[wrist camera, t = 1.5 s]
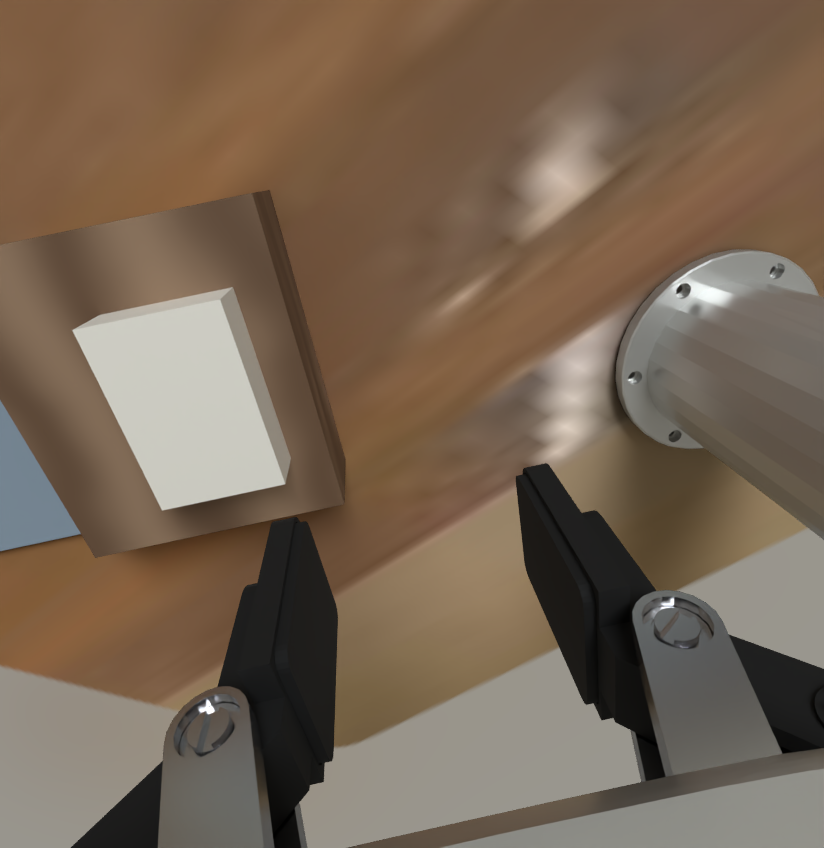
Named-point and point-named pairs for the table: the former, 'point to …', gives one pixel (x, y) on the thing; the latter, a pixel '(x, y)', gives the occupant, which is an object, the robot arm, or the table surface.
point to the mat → (26, 494)
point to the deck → (138, 286)
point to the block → (189, 397)
